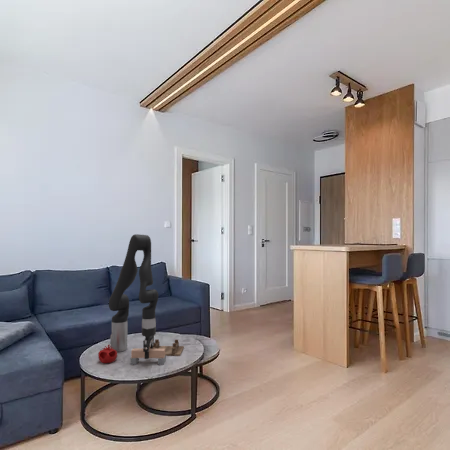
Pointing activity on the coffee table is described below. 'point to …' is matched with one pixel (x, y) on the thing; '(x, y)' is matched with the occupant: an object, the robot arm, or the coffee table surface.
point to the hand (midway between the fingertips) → (148, 355)
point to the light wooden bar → (152, 353)
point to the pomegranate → (107, 355)
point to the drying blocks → (160, 360)
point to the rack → (169, 348)
